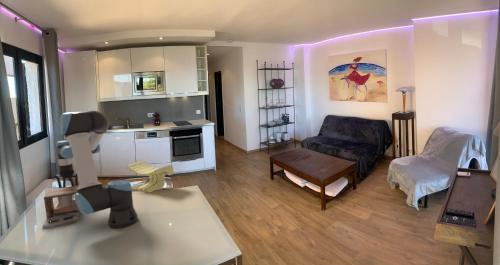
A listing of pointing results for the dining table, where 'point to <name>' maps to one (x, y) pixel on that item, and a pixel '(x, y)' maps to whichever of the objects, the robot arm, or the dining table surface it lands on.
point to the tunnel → (50, 206)
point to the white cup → (65, 201)
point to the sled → (65, 209)
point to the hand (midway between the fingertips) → (70, 198)
